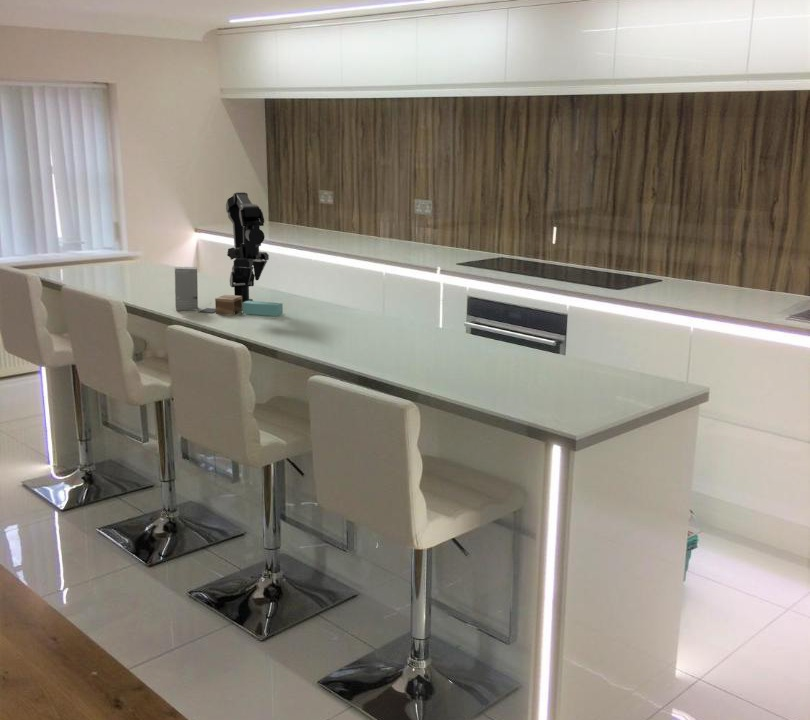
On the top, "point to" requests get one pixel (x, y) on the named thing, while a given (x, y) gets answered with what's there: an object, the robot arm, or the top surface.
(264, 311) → the bar
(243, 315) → the pad
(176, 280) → the skincare box
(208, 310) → the mat
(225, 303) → the tunnel
